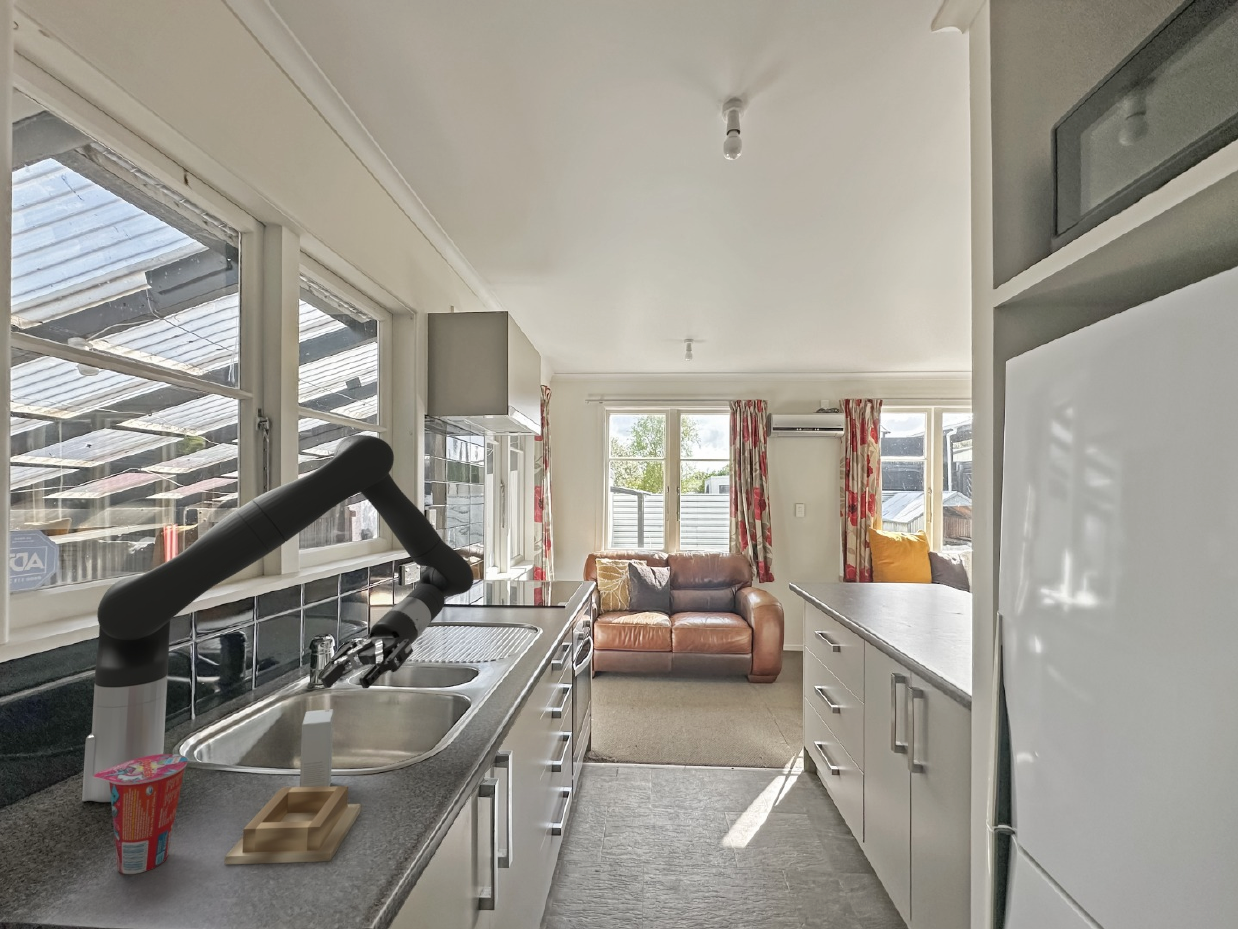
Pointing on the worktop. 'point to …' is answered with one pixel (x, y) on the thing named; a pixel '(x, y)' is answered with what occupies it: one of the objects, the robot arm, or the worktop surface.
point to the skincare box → (316, 749)
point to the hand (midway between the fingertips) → (343, 684)
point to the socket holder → (297, 827)
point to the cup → (144, 808)
